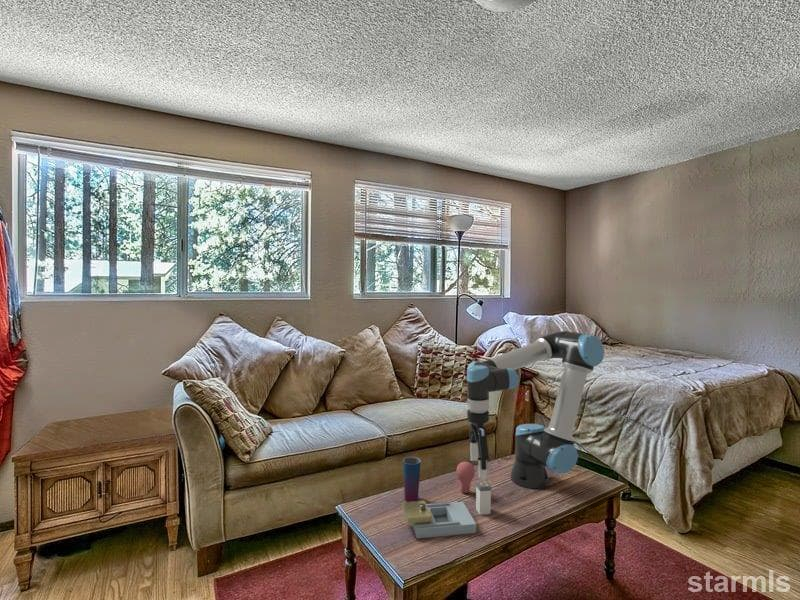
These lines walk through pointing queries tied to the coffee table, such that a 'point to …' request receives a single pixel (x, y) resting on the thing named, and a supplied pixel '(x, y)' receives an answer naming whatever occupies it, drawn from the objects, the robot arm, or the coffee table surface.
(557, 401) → the robot arm
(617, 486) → the coffee table surface
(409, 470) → the cup
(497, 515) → the coffee table surface
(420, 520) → the panel
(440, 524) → the socket board
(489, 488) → the plug
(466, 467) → the light bulb
